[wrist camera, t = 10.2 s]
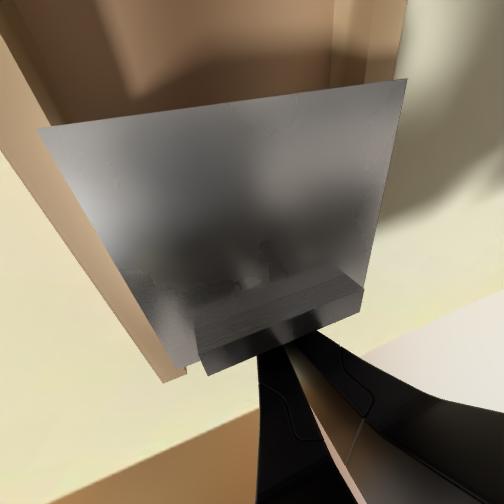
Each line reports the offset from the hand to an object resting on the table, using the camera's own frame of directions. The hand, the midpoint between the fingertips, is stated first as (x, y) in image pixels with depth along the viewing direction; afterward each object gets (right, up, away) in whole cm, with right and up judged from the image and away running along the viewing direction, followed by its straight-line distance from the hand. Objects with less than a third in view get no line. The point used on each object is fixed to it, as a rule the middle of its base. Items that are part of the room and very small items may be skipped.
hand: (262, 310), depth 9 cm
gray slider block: (-1, +4, -2) cm, 5 cm away
